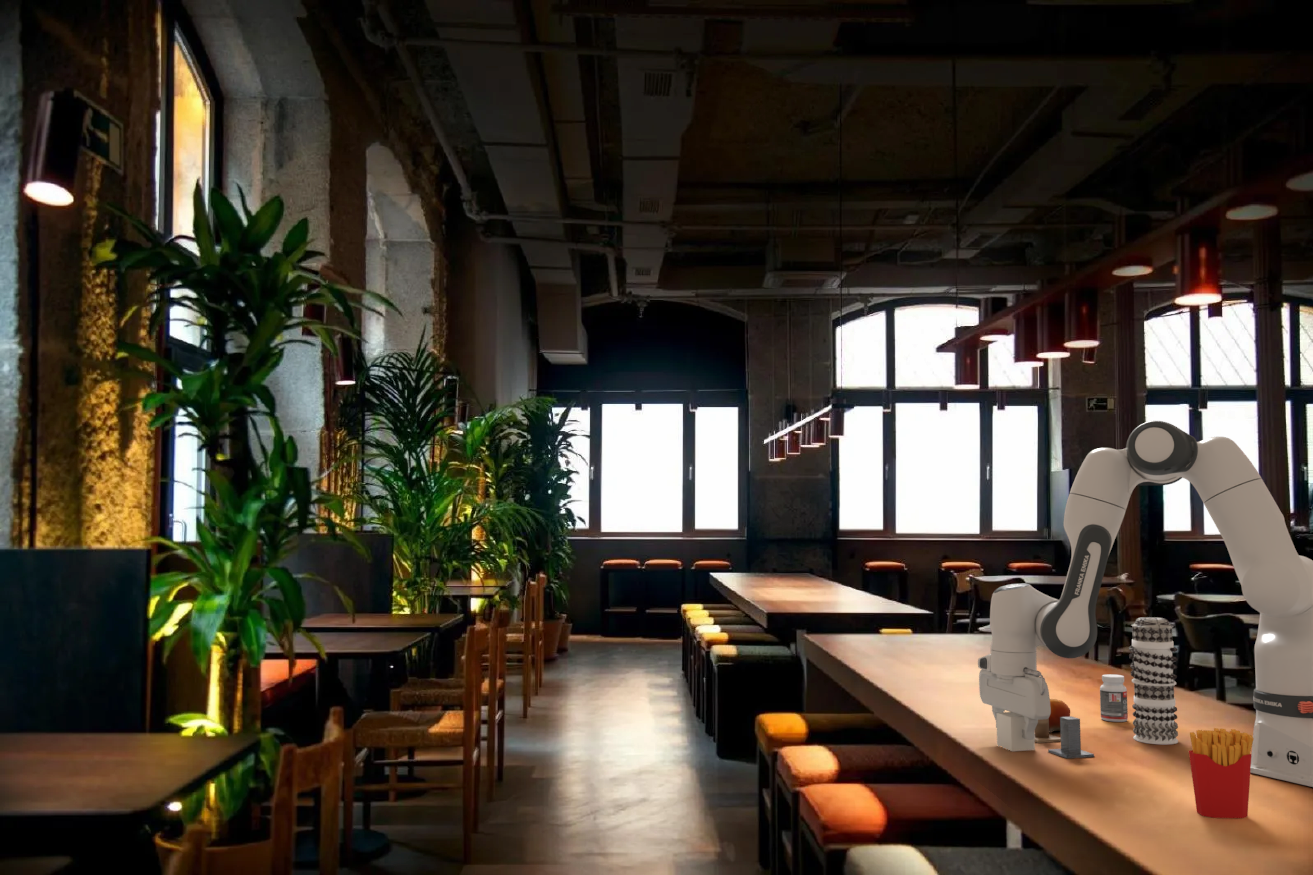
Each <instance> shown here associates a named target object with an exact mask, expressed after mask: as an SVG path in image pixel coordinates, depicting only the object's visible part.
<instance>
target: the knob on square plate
mask: <svg viewBox="0 0 1313 875" xmlns="http://www.w3.org/2000/svg"><path fill="white" fill-rule="evenodd" d="M1034 733H1035V743H1037V744H1040V743H1041V744H1042V743H1056V742H1060V743H1061V736H1060V737H1059V736H1056V735H1053V734H1051V733H1050V732H1049V718H1048V719H1042V720H1038V724H1037V726H1036V728H1035V730H1034Z"/></svg>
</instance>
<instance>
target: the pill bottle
mask: <svg viewBox="0 0 1313 875" xmlns="http://www.w3.org/2000/svg"><path fill="white" fill-rule="evenodd" d="M1101 680H1102V682H1103V683H1102V684H1101V685H1100V686H1099V697H1100V698H1099V701H1100V702H1099V706H1100V719H1101V721H1102V720H1103V721H1106V722H1111V723H1112V722H1113V723H1124V722H1127V721H1128V720H1129V715H1128V714H1129V712H1128V690H1127V687H1126V686H1125V685H1124V683H1125V676H1124V675H1121V674H1110V673H1109V674H1107V673H1106V674H1102V675H1101Z"/></svg>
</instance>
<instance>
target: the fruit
mask: <svg viewBox="0 0 1313 875" xmlns="http://www.w3.org/2000/svg"><path fill="white" fill-rule="evenodd" d="M1050 707H1051V714H1050V716H1049V733H1050V735H1053V732H1056V731H1058V732H1061V730H1060V717H1070V716H1071V708H1070V707H1069V705H1067V704H1066V703H1065V702H1064V701H1062V700H1059V699H1057V698H1050Z"/></svg>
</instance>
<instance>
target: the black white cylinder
mask: <svg viewBox="0 0 1313 875" xmlns="http://www.w3.org/2000/svg"><path fill="white" fill-rule="evenodd" d="M1131 626H1132V632H1131V633H1132V639H1131V645H1130V646H1129V647H1128V651H1129V652H1130V654H1129V655H1128V656H1129V659H1130V660H1132V662H1131V663H1129V664H1130V665H1129V666H1130V669H1132V670H1131V671H1130V676H1131V677H1133V678H1132V679H1131V683H1133V687H1134V688H1133V689H1134V690H1133V692H1134V694H1133V704H1132V709H1133V710H1135V711H1133V712H1132V716H1133V717H1135V719H1133V721H1132V725H1133V726H1134V728H1133V730H1132V732H1133V734H1134V735H1133V740H1134V741H1136V742H1139V743H1144V744H1151V745H1167V746H1168V745H1174V744H1178V743H1179V739H1178V738H1177V737H1178V736H1179V732H1178V728H1179V726H1178V723H1177V722H1176V721H1175V720H1177V719H1178V715H1177V714H1175V713H1176V712H1177V711H1178V708H1177V706H1176V704H1177V703H1176V698H1175V688H1174V687H1175V685H1177V682H1176V681H1175V680H1176V679H1177V678H1178V675H1176V674H1174V670H1176V669H1177V668H1178V666H1177V665H1176V664H1174V663H1175V662H1177V661H1178V657H1176V656H1174V655H1173V653H1176V652H1178V648H1177V647H1175V646H1174V641H1173V628H1174V625H1171V624H1170V622H1169V620H1168V619H1167V618H1165V617H1164V618H1163V617H1155V616H1154V617H1152V616H1151V617H1150V616H1149V617H1148V616H1147V617H1138V618H1136V619H1135V621H1134V623H1132V624H1131Z"/></svg>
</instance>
